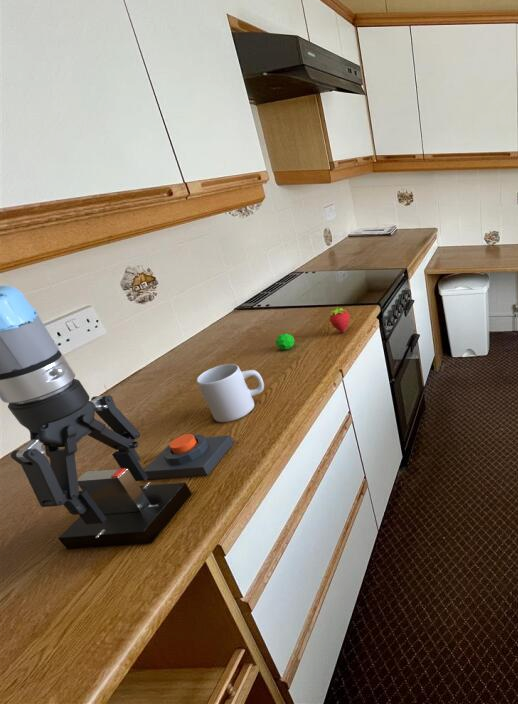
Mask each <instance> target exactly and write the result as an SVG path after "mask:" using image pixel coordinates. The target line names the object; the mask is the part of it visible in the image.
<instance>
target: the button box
mask: <svg viewBox="0 0 518 704" xmlns="http://www.w3.org/2000/svg"><path fill="white" fill-rule="evenodd" d="M192 435H193V436H194V438H195V439H196V441H197V444H196V445H195V446H194V447H193V448H192V449H190V450H189V451H187V452H184V453H181V454H174V453H173V451H172V450H171V448H170V444H169V445H167V446H166V447H165V448H164V450H162V452H160V453H159V454H158V456H156V457H155V458H154V459H153V460H152V461H151V462H150V463H149V464H148V465H147V466H146V467H145V468H144V469H143V470H144V472H145V473H146V475H147V476H148V478H147V479H146V480H147V481H148V480H161V479H175V478H185V477H187V478H188V477H200V476H208V475H209V474H210V473H211V471H213V469H214V468H215V467H216V465H217V464H218V463H219V462H220V460H221V459H222V458H223V456H225V455H226V454H227V452H228V451H229V450H230V448H231V447H232V446H233V445H234V441H233V438H232V436H231V435H219V436H218V435H217V436H204V435H203V434H201V433H197V434H195V433H193V434H192Z"/></svg>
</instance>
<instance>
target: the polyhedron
mask: <svg viewBox="0 0 518 704" xmlns="http://www.w3.org/2000/svg"><path fill="white" fill-rule="evenodd" d="M295 342H296V341H295V338H294V336H292V334H289V333H281V334H280V335H278V337H276V340H275V345H276V347H277V348H278V349H280V350H281V351H283V350H287V351H288V350H290V349H292V347H293V346H294V344H295Z"/></svg>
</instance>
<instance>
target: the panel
mask: <svg viewBox="0 0 518 704" xmlns="http://www.w3.org/2000/svg"><path fill="white" fill-rule="evenodd" d="M139 487H140V488H141V490H142V491H143V493H144V494H145V496H146V497H147V499H148V500H149V503H148V504H147V505H146V506H145V507H144V508H143V510H142V511H140V512H127V513H114V514H104V516H105V517H106V518H107V520H106V521H105V522H104V523H98V524H86V523H85V522H84V521H83V520H82V518H81V517H80V516H79V517H77V519H76V520H74V521H73V522H72V523H71V524H70V525H69V526H68V527H67V528H66V529H65V530H64V531H63V532H62V533H61V534H60V535H58V537H57V540H58V541H59V542H60V543H61V545H63V547H64V548H65V549H66V550H67V551H69V550H70V551H71V550H84V549H95V548H96V549H97V548H108V547H109V548H110V547H123V546H124V547H125V546H137V545H147V544H152V543H153V542H154V541H155V540H156V539H157V537H158V536H159V535H160V533H162V531H163V530H164V529H165V528H166V526H167V525H168V524H169V523H170V522H171V520H172V519H173V518H174V517H175V515H176V514H177V513H178V512H179V511H180V509H181V508H182V507H183V505H184V504H185V503H186V502H187V501H188V500H189V498H190V497H191V496H192V495H193V493H192V491H191V490H190V488H189V486H188V484H187V483H186V482H176V483H175V482H174V483H162V484H152V482H151V481H148V482H147V483H146V484H145V485H139Z"/></svg>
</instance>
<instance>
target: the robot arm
mask: <svg viewBox="0 0 518 704" xmlns="http://www.w3.org/2000/svg"><path fill="white" fill-rule="evenodd" d="M0 400H1V401H2V402H4V403H6V404H7V409H8V410H9V411H10V412H11V414H12V415H13V417H14V418H15V419H16V420H17V422H18V423H19V424H20V425H21V426H22V427H24V428H25V429H27V430H28V432H29V438H30V441H29V442H28V443H26V444H25V446H23V447H22V448H21V449H15V450H13V451H11V453H10V458H11V459H12V460H14V461H15V462H16V463H18V464H19V465H20V466H21V468H22V470H23V472H24V474H25V476H26V478H27V480H28V483H29V484H30V487H31V489H32V491H33V493H34V495H35V497H36V499H37V501H38V504H39V505H40V507H41V508H47V507H48V508H49V507H61V506H64V507H65V509H66V510H67V512H68V513H69V514H70V515H72V516H76V515H77V516H79V517H81V518H82V520H83V521H84V522H85V523H86V524H98V523H104V522H105V521H106V520H107V518H106V517H105V516H104V514H103V513H102V511H101V510H100V509H99V507H98V506H97V505H96V503H95V502H94V501H93V499H92V498H91V497H90V495H89V494H88V492H87V491H82V490H80V489H79V488H80V487H79V485H78V472H77V471H78V470H77V465H76V457H75V455H76V453H77V451H78V445H77V444H78V443H79V442H80V441H81V440H82V439H83V438H84V437H86V436H89V437H90V438H92V439H94V440H96V441H98V442H99V443H102V444H104V445H106V446H107V447H109V448H112V449H114V450H116V451H114V452H113V453H112V457H113V459H114V460H115V462H116V463H117V465H118V466H119V467H120V468H125V469H128V470H129V471H130V473H131V474H132V476H133V477H134V479H135V480H136V482H144V481H146V480H147V478H148V476H147V475H146V473H145V472H144V469H143V467H142V464H140V462H139V461H141V457H140V455H139V453H137V451H136V449H137V448H138V446H139V441H136V440H137V439H139V438H140V437H141V432H140V431H139V430H138V429H137V428H136V427H135V425H133V424H132V423H131V421H130V420H129V419H128V418H127V416H125V415H124V414H123V412H122V411H121V410H120V409H119V408H118V407H117V406H116V404H115V401H114V398H113V396H112V395H110V394H109V395H96V396H92V397H91V398H90V395H89V394H88V392H87V390H86V389H85V388H84V386H83V384H82V382H81V381H80V380H79V379H76V374H75V371H73V369H72V367H71V366H70V363H68V361H67V360H66V358H65V356H64V355H63V353H62V352H61V350H60V349H59V347H58V345H57V344H56V342H55V341H54V339H53V337H52V335H51V334H50V332H49V331H48V328H47V327H46V325H45V324H44V322H43V321H42V319H41V317H40V316H39V314H38V310H36V309H35V308H34V306H32V305H31V304H30V303H29V301H28V299H27V298H26V297H25V295H24V294H23V293H22V292H21V290H19V289H18V288H16V287H14V286H10V285H0ZM96 414H97V416H98V417H99V418H100V419H101V420H102V421H103V422H104V423H103V422H102V421H100V420H98V419H97V418H95V415H96ZM43 446H44V450H43ZM45 455H46V456H45ZM47 457H48V458H49V459H48V458H47Z"/></svg>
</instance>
